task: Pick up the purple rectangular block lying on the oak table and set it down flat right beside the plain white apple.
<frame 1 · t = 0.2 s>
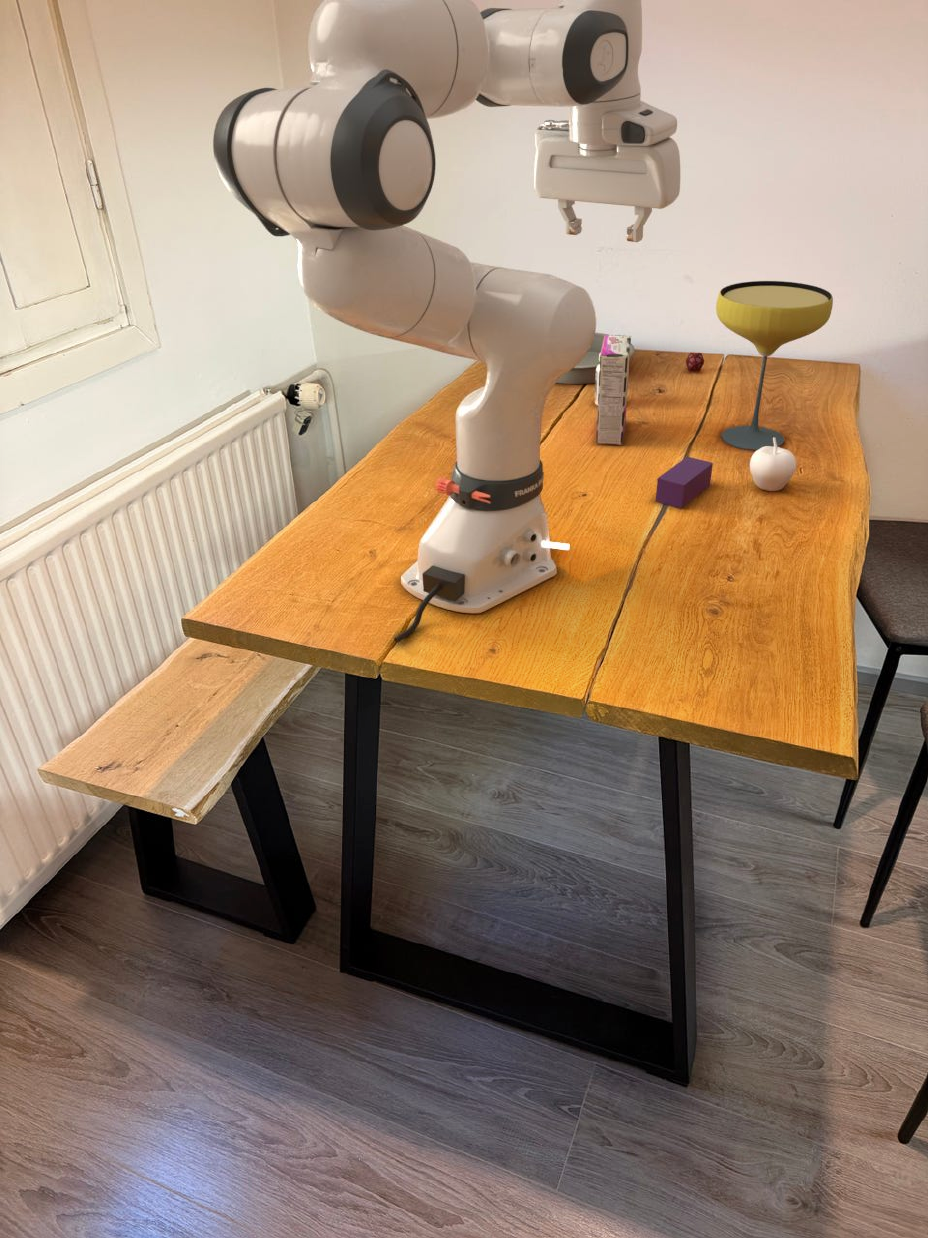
hand: (603, 237, 120), 39 cm above the table, tool pointing down, fingers open, 8 cm apart
purple rectangular block: (683, 493, 141), on the table
cake pan: (576, 369, 193), on the table
pill bottle: (608, 404, 175), on the table
candy bar box: (610, 434, 162), on the table
dice: (693, 371, 189), on the table
cocktail glass: (752, 439, 158), on the table
plain white apple: (768, 487, 142), on the table
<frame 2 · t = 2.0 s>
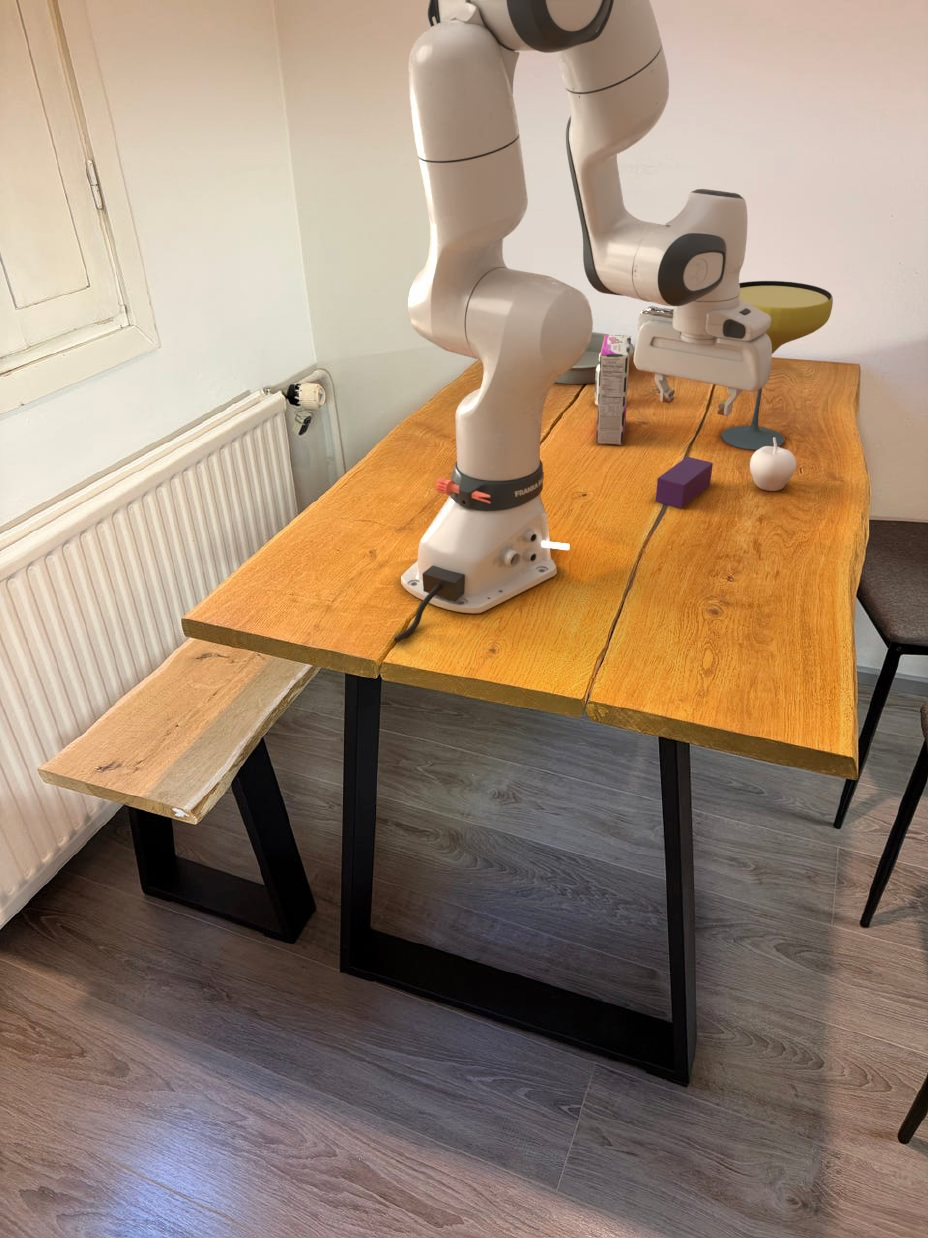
hand: (694, 407, 133), 14 cm above the table, tool pointing down, fingers open, 8 cm apart
nothing on the table moved.
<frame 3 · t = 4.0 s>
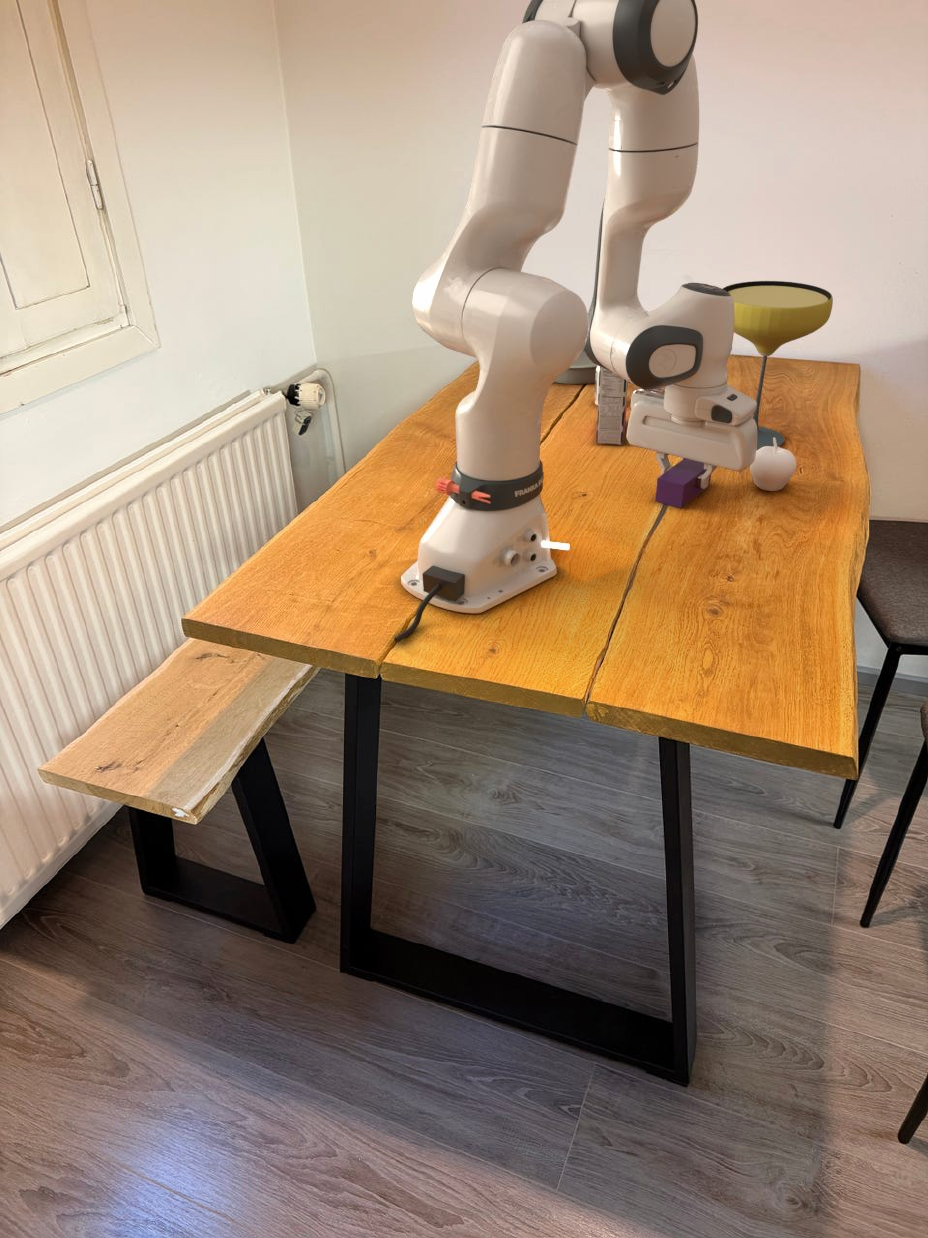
hand: (684, 482, 140), 2 cm above the table, tool pointing down, fingers closed on purple rectangular block, 4 cm apart
purple rectangular block: (682, 493, 141), on the table, touching gripper
everything else where it was.
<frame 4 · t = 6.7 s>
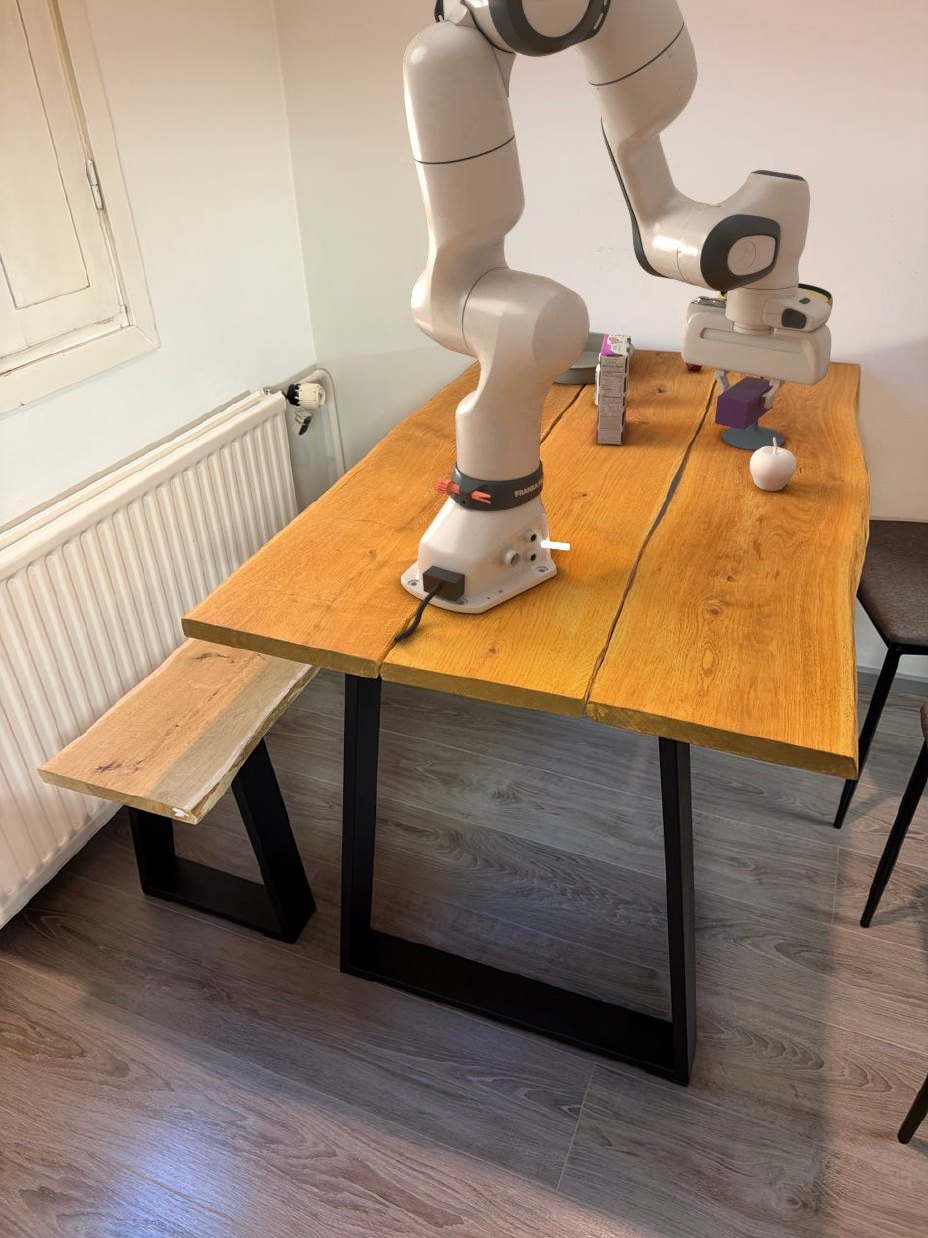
hand: (745, 403, 127), 17 cm above the table, tool pointing down, fingers closed on purple rectangular block, 4 cm apart
purple rectangular block: (743, 415, 128), point 15 cm above the table, touching gripper
everything else where it was.
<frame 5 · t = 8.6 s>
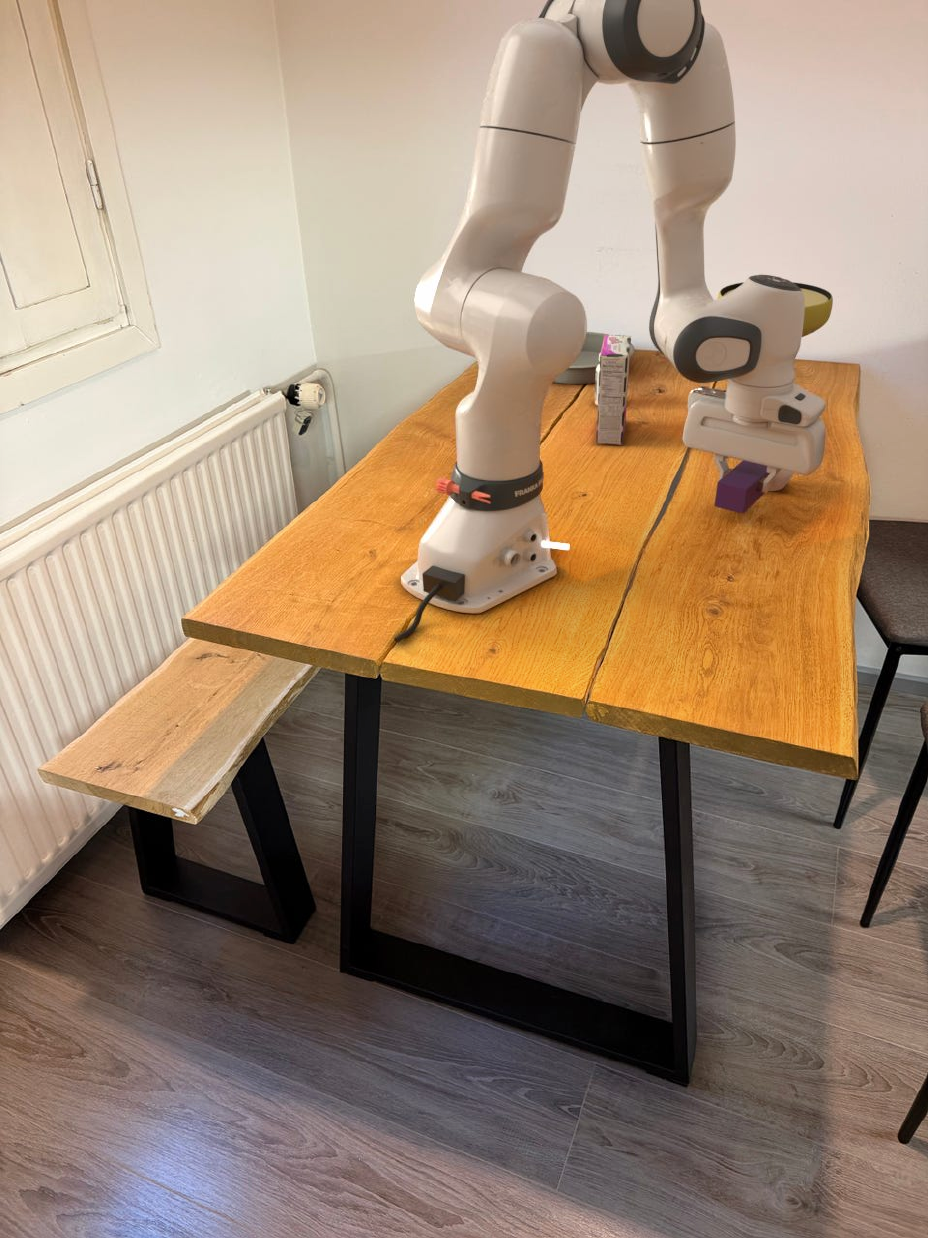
hand: (744, 486, 133), 4 cm above the table, tool pointing down, fingers closed on purple rectangular block, 4 cm apart
purple rectangular block: (742, 497, 134), point 2 cm above the table, touching gripper
everything else where it was.
when the fingers open (2 cm above the table, at t = 9.7 s): purple rectangular block stays where it is, on the table.
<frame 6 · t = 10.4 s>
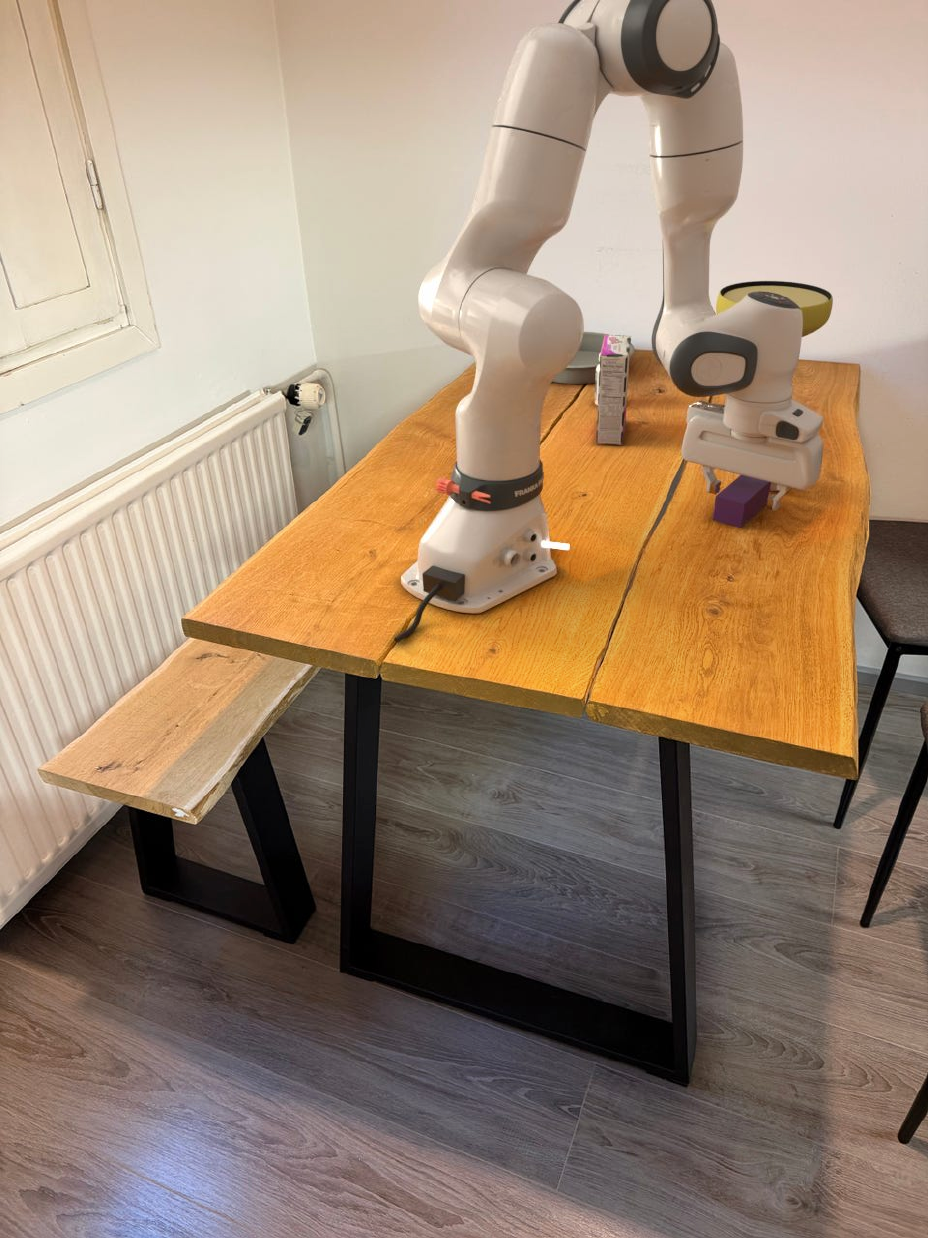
hand: (742, 500, 134), 2 cm above the table, tool pointing down, fingers open, 8 cm apart
purple rectangular block: (740, 511, 135), on the table
everything else where it was.
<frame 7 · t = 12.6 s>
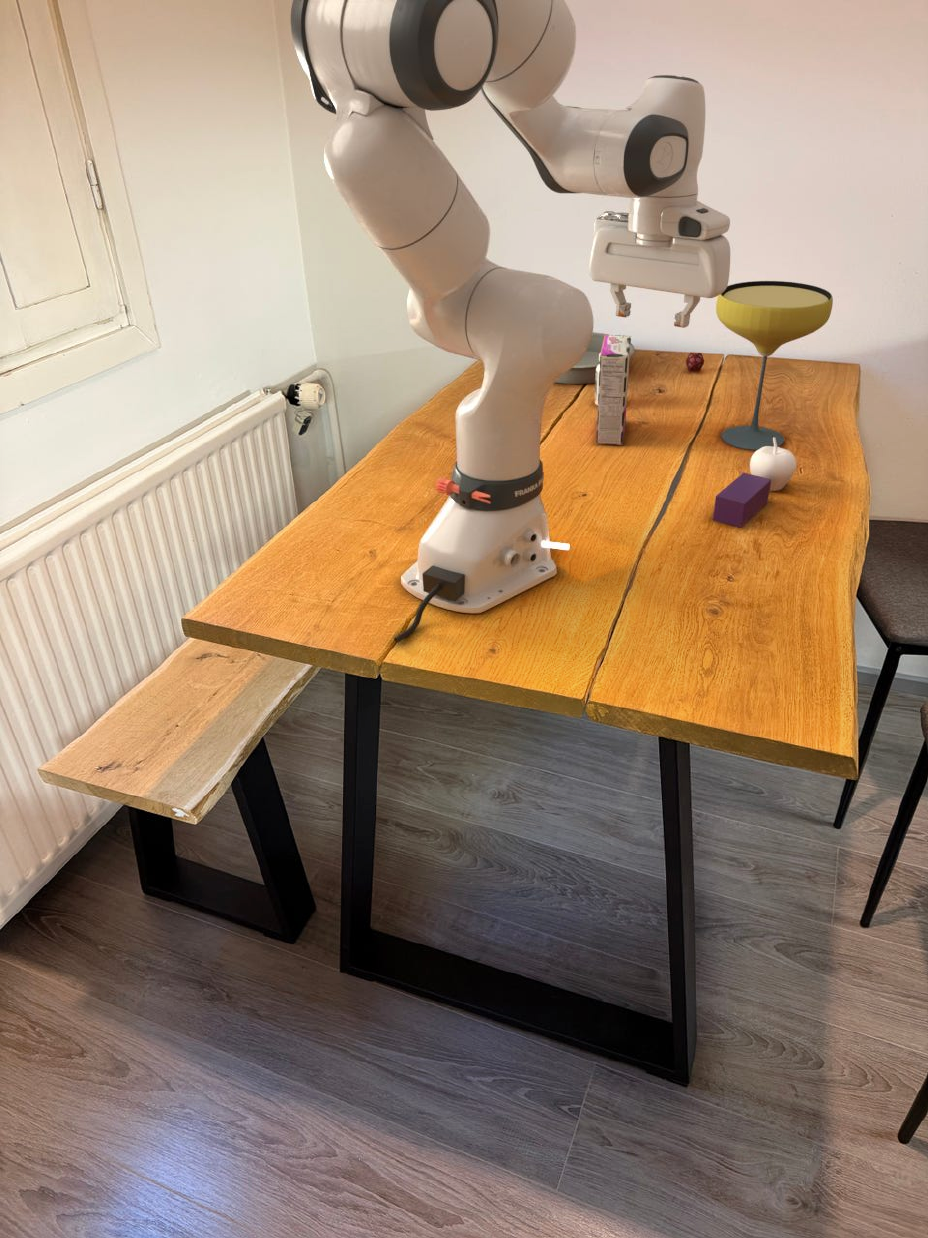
hand: (651, 321, 127), 27 cm above the table, tool pointing down, fingers open, 8 cm apart
nothing on the table moved.
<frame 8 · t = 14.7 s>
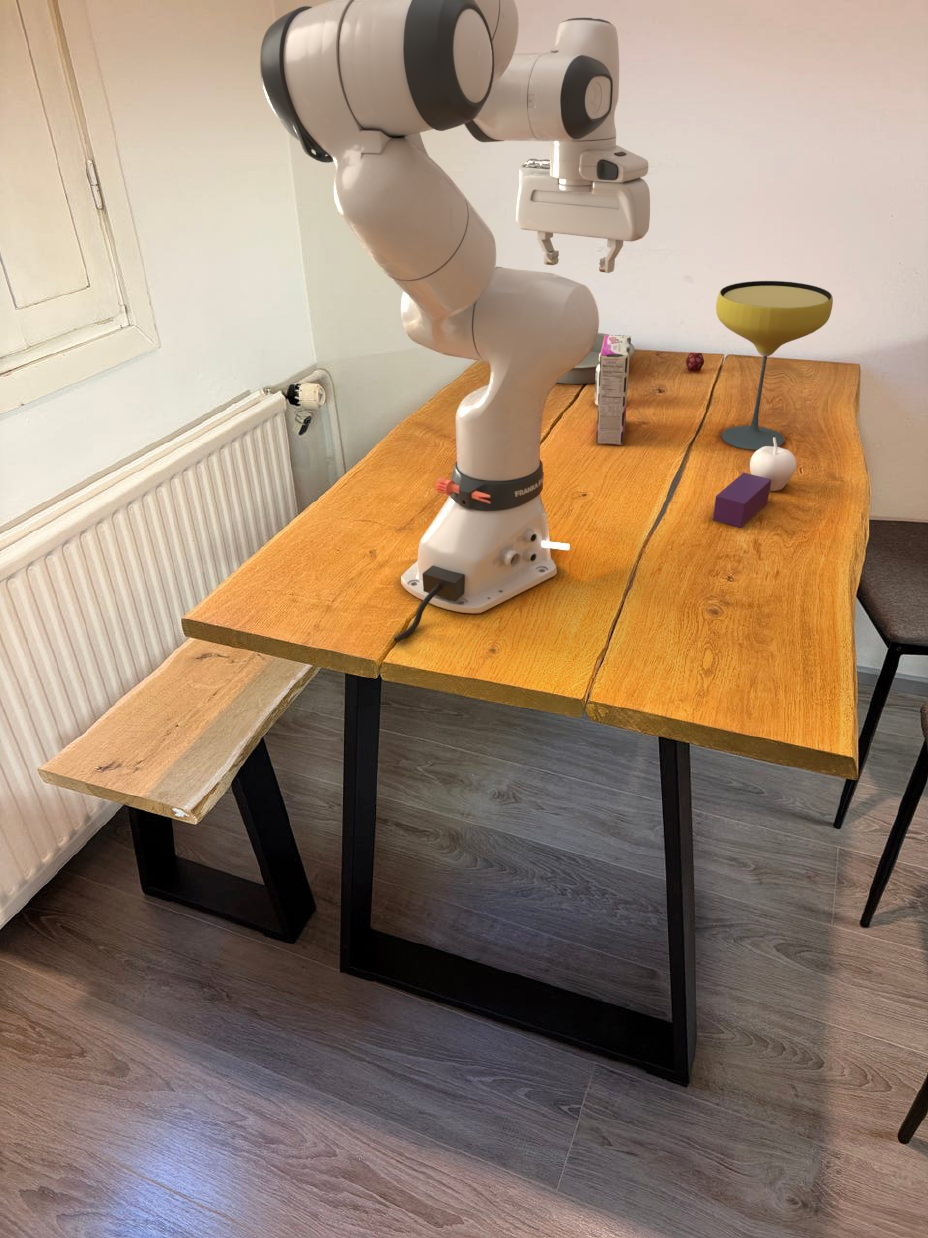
hand: (578, 267, 129), 33 cm above the table, tool pointing down, fingers open, 8 cm apart
nothing on the table moved.
at the end: purple rectangular block inside the target area on the table beside the plain white apple (0.2 cm from its centre), on the table; purple rectangular block tilted 0°; plain white apple moved 0.2 cm from its start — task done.
